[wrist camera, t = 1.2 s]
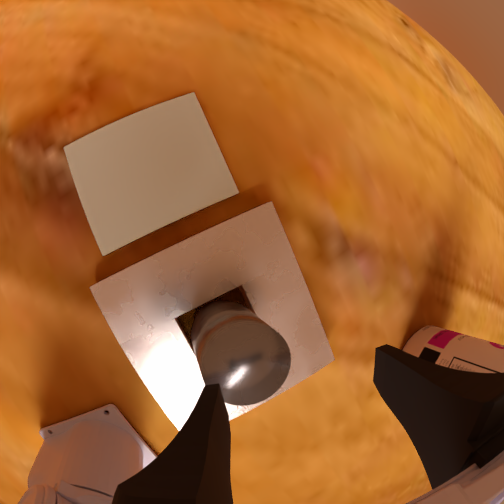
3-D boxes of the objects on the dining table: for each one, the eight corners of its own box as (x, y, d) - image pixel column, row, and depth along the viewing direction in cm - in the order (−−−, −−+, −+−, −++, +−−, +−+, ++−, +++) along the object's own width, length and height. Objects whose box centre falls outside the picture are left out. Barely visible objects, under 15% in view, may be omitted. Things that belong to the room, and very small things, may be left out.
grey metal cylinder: (205, 364, 22) (227, 419, 14) (177, 312, 21) (184, 351, 13) (258, 336, 23) (302, 377, 15) (233, 284, 22) (270, 306, 14)
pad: (104, 255, 19) (102, 256, 19) (65, 149, 18) (63, 147, 17) (237, 193, 22) (239, 192, 21) (193, 94, 20) (193, 92, 20)
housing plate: (184, 426, 21) (186, 439, 19) (95, 283, 19) (89, 287, 17) (323, 352, 25) (334, 359, 23) (262, 204, 22) (271, 201, 21)
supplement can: (425, 310, 29) (536, 336, 14) (443, 349, 30) (534, 379, 16) (383, 365, 27) (495, 419, 13) (406, 398, 29) (496, 446, 14)
